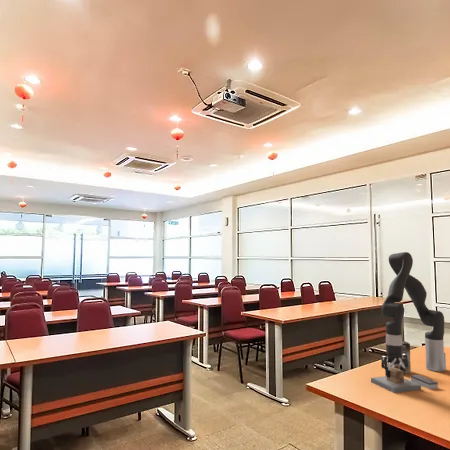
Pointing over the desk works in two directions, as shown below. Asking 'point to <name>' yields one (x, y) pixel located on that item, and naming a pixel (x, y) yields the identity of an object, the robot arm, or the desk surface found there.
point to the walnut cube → (396, 376)
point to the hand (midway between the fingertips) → (395, 376)
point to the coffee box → (407, 351)
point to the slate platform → (396, 385)
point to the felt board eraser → (424, 382)
